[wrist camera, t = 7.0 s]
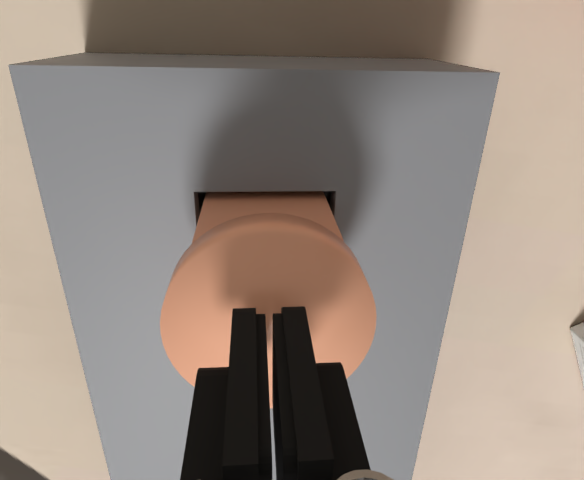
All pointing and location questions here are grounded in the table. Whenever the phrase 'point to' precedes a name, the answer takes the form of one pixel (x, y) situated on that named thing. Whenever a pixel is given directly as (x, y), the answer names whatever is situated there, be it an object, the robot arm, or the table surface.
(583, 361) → the skincare box
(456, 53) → the table surface
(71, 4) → the table surface
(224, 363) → the peach dome knob
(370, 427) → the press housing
